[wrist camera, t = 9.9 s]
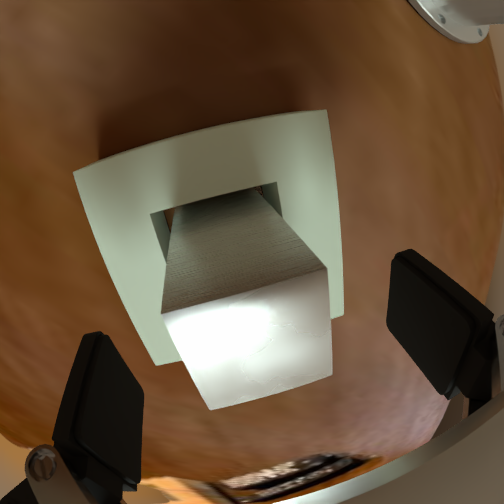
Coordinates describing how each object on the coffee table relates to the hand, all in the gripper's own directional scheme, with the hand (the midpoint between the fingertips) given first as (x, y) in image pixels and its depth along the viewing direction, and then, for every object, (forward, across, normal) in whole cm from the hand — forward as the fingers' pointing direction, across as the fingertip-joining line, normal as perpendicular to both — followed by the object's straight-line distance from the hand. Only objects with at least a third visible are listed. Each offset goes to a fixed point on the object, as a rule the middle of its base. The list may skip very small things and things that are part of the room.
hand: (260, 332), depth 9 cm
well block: (+10, 0, 0) cm, 10 cm away
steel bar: (+10, 0, 0) cm, 10 cm away
